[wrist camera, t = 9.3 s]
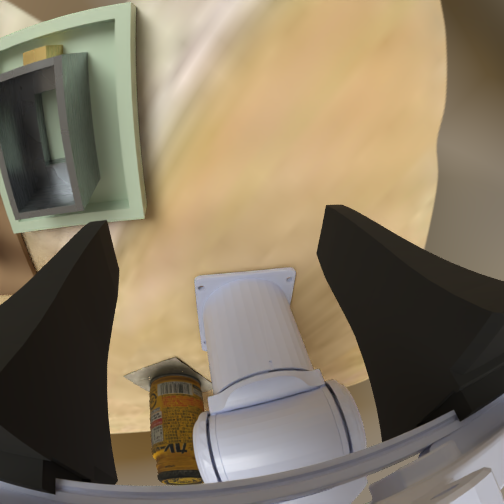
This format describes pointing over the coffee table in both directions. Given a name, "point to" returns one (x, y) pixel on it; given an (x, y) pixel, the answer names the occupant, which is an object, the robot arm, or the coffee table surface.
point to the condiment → (173, 417)
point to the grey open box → (35, 135)
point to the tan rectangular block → (12, 257)
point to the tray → (103, 110)
